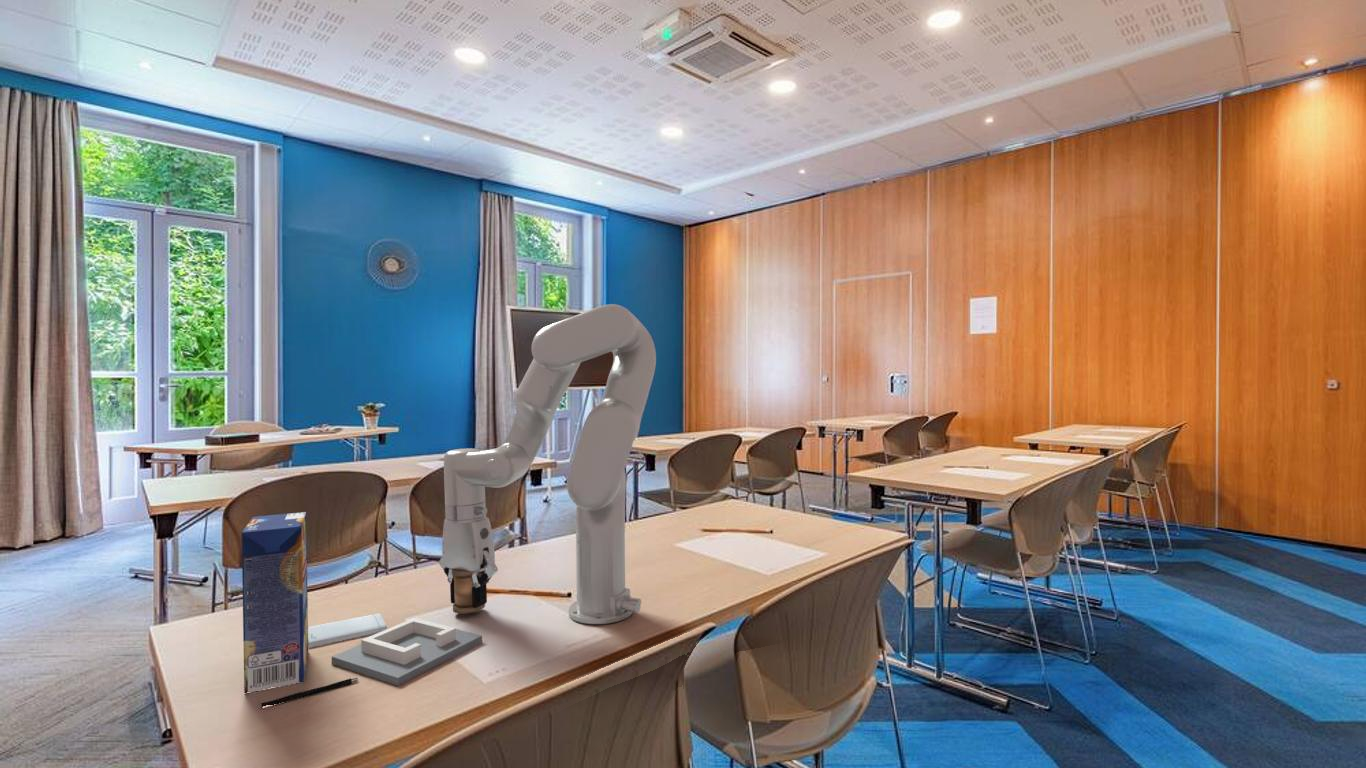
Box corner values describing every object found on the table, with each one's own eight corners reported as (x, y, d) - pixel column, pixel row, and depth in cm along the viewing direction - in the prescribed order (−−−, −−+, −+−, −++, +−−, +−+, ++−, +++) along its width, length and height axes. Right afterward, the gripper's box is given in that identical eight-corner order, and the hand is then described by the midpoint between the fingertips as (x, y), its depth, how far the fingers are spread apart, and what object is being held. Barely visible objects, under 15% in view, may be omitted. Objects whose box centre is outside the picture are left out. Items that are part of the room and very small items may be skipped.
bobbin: (491, 604, 123) (490, 564, 123) (468, 615, 117) (467, 573, 117) (469, 600, 125) (468, 561, 125) (446, 610, 120) (444, 570, 120)
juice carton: (303, 682, 94) (301, 526, 94) (244, 694, 91) (241, 532, 90) (308, 652, 105) (306, 511, 104) (255, 662, 101) (253, 516, 101)
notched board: (482, 642, 108) (482, 624, 108) (397, 685, 93) (397, 664, 93) (419, 626, 115) (419, 609, 115) (331, 663, 100) (331, 644, 100)
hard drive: (308, 641, 106) (386, 624, 113) (305, 626, 113) (379, 611, 120) (308, 651, 106) (387, 633, 113) (305, 635, 113) (379, 619, 120)
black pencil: (357, 682, 95) (357, 675, 95) (358, 684, 94) (358, 678, 94) (261, 708, 87) (261, 701, 87) (261, 711, 87) (261, 704, 87)
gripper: (512, 510, 121) (515, 603, 121) (450, 505, 128) (453, 591, 129) (483, 519, 114) (486, 616, 114) (419, 512, 122) (423, 603, 122)
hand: (468, 602), depth 121 cm, fingers closed on bobbin, 5 cm apart
